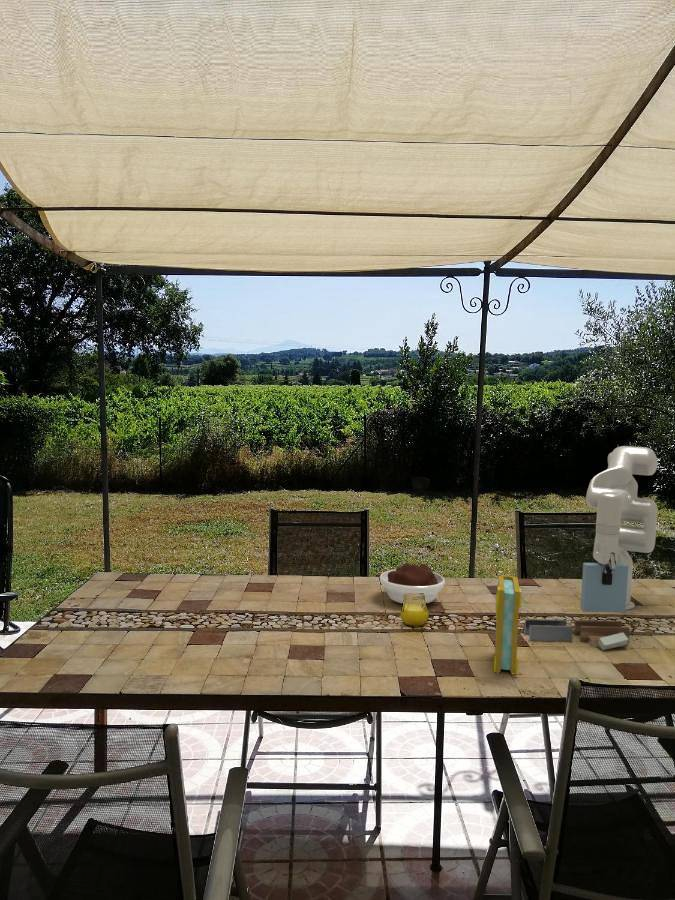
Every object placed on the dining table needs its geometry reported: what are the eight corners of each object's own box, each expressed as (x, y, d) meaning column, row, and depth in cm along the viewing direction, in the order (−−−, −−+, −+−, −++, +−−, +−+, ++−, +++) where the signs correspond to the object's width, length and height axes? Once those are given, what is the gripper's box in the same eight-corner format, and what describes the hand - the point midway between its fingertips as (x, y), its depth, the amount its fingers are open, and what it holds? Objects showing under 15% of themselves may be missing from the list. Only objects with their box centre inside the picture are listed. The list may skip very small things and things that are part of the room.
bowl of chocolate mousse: (365, 600, 275) (366, 562, 273) (405, 587, 293) (406, 551, 292) (418, 616, 258) (419, 576, 257) (456, 601, 276) (458, 563, 275)
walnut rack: (573, 634, 244) (574, 619, 244) (620, 635, 244) (621, 620, 244) (580, 641, 237) (581, 627, 237) (628, 642, 237) (629, 628, 237)
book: (517, 674, 209) (521, 592, 207) (493, 672, 211) (497, 590, 208) (514, 653, 226) (518, 576, 223) (493, 651, 227) (496, 574, 225)
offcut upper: (597, 643, 232) (599, 638, 231) (621, 637, 235) (623, 632, 233) (602, 650, 230) (604, 645, 229) (626, 644, 232) (628, 639, 231)
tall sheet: (580, 608, 242) (583, 562, 240) (621, 609, 242) (624, 563, 240) (583, 611, 239) (586, 565, 237) (625, 612, 239) (628, 565, 237)
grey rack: (524, 633, 244) (525, 619, 243) (565, 633, 244) (565, 619, 244) (530, 640, 237) (530, 626, 236) (571, 641, 237) (572, 627, 237)
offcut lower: (587, 643, 237) (587, 636, 237) (622, 643, 237) (623, 636, 237) (591, 647, 234) (591, 640, 233) (627, 648, 234) (628, 640, 234)
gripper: (587, 523, 245) (584, 575, 247) (606, 534, 229) (602, 590, 231) (609, 523, 245) (606, 575, 247) (629, 535, 229) (625, 590, 231)
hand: (604, 582), depth 239 cm, fingers closed on tall sheet, 3 cm apart
